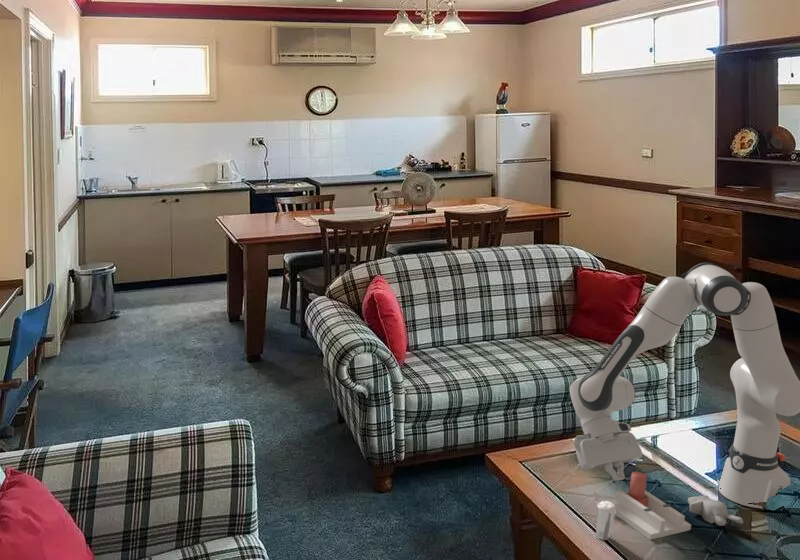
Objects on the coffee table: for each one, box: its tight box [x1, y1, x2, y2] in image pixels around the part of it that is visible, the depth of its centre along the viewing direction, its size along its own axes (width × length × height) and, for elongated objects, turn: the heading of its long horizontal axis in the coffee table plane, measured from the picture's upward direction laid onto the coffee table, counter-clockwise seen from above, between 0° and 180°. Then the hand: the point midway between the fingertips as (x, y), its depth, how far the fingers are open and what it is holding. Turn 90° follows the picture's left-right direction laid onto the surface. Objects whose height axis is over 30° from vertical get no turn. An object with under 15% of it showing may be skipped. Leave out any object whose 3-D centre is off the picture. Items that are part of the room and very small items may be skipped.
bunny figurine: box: [687, 495, 744, 527], centre depth 198 cm, size 10×5×15 cm
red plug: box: [625, 471, 648, 506], centre depth 199 cm, size 4×4×8 cm
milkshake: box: [594, 495, 616, 541], centre depth 185 cm, size 4×5×10 cm
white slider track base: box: [610, 489, 692, 540], centre depth 196 cm, size 14×16×5 cm
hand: (619, 479), depth 205 cm, fingers closed
